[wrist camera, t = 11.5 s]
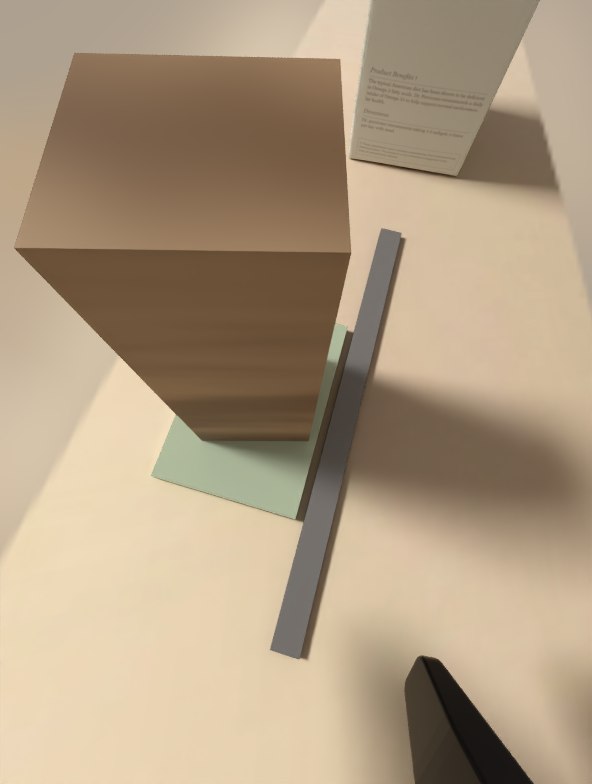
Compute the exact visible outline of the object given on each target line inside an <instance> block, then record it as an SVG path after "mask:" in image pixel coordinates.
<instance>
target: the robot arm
mask: <svg viewBox="0 0 592 784" xmlns="http://www.w3.org/2000/svg"><path fill="white" fill-rule="evenodd" d="M405 700H406V709H407V718H408V727H409V736H410V745H411V754H412V763H413V772H414V779H415V784H533V782H532V781H531V780H530V778H529V777H528V776H527V774H526V773H525V772H524V770H523V769H522V768H521V766H520V765H519V764H518V762H517V761H516V760H515V759H514V757H513V756H512V755H511V753H510V752H509V751H508V749H507V748H506V747H505V745H504V744H503V743H502V741H501V740H500V739H499V737H498V736H497V735H496V734H495V732H494V731H493V730H492V728H491V727H490V726H489V724H488V723H487V722H486V720H485V719H484V718H483V716H482V715H481V714H480V712H479V711H478V710H477V708H476V707H475V706H474V705H473V703H472V702H471V701H470V699H469V698H468V697H467V695H466V694H465V693H464V691H463V690H462V689H461V687H460V686H459V685H458V683H457V682H456V681H455V680H454V678H453V677H452V676H451V674H450V673H449V672H448V670H447V669H446V668H445V666H444V665H443V664H442V663H441V662H440V661H439V660H438V659H436V658H433V657H428V656H419V657H418V658H417V659H416V661H415V663H414V665H413V667H412V669H411V671H410V673H409V675H408V677H407V679H406V682H405Z"/></svg>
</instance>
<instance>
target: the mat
mask: <svg viewBox="0 0 592 784" xmlns="http://www.w3.org/2000/svg"><path fill="white" fill-rule="evenodd" d="M347 327H348V326H344V325H340V324H336V323H335V326H334V331H333V335H332V339H331V344H330V348H329V353H328V357H327V362H326V366H325V370H324V375H323V379H322V384H321V388H320V393H319V397H318V401H317V406H316V410H315V415H314V419H313V424H312V428H311V433H310V437H309V441H202V440H201V439H200V438H199V437H198V436H197V435H196V434H195V433H194V432H193V431H192V430H191V429H190V428H189V427H188V426H187V425H186V424H185V423H184V422H183V421H182V420H181V419H180V418H179V417H178V416H177V415H176V416H175V418H174V421H173V423H172V425H171V428H170V430H169V433H168V435H167V438H166V440H165V443H164V445H163V447H162V450H161V452H160V455H159V457H158V460H157V462H156V464H155V467H154V469H153V472H152V474H151V476H153V477H155V478H159V479H162V480H165V481H169V482H172V483H175V484H179V485H182V486H185V487H189V488H192V489H195V490H199V491H202V492H205V493H208V494H212V495H215V496H218V497H222V498H225V499H228V500H232V501H235V502H238V503H242V504H245V505H248V506H252V507H255V508H258V509H262V510H265V511H268V512H271V513H275V514H278V515H281V516H285V517H288V518H291V519H296V515H297V511H298V508H299V504H300V500H301V497H302V493H303V489H304V486H305V482H306V478H307V475H308V471H309V467H310V464H311V460H312V456H313V453H314V449H315V445H316V441H317V438H318V434H319V430H320V427H321V423H322V419H323V416H324V412H325V408H326V405H327V401H328V397H329V394H330V390H331V386H332V383H333V379H334V375H335V372H336V368H337V364H338V361H339V357H340V353H341V349H342V346H343V342H344V338H345V335H346V331H347Z"/></svg>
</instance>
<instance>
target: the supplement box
mask: <svg viewBox="0 0 592 784" xmlns="http://www.w3.org/2000/svg"><path fill="white" fill-rule="evenodd" d="M539 1H540V0H370V3H369V10H368V17H367V24H366V30H365V37H364V44H363V51H362V58H361V65H360V72H359V79H358V86H357V93H356V99H355V107H354V115H353V123H352V130H351V137H350V145H349V158H353V159H360V160H366V161H372V162H378V163H384V164H390V165H396V166H402V167H408V168H413V169H419V170H425V171H431V172H436V173H442V174H448V175H454V176H457V175H458V173H459V171H460V169H461V167H462V165H463V163H464V161H465V159H466V156H467V154H468V152H469V150H470V148H471V146H472V144H473V141H474V139H475V137H476V135H477V133H478V131H479V129H480V127H481V124H482V122H483V120H484V118H485V116H486V114H487V112H488V109H489V107H490V105H491V103H492V101H493V99H494V97H495V95H496V92H497V90H498V88H499V86H500V84H501V82H502V80H503V78H504V76H505V73H506V71H507V69H508V67H509V65H510V63H511V61H512V59H513V56H514V54H515V52H516V50H517V48H518V46H519V44H520V42H521V39H522V37H523V35H524V33H525V31H526V29H527V27H528V24H529V22H530V20H531V18H532V16H533V13H534V12H535V10H536V7H537V5H538V3H539Z"/></svg>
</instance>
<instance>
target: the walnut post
mask: <svg viewBox="0 0 592 784" xmlns="http://www.w3.org/2000/svg"><path fill="white" fill-rule="evenodd" d="M14 248H15V249H16V250H17V251H18V252H19V253H20V255H21V256H22V257H24V258H25V260H26V261H27V262H28V263H29V264H30V265H31V266H32V267H33V268H34V269H35V270H36V271H37V272H38V273H39V274H40V275H41V276H42V277H43V278H44V279H45V280H46V281H47V282H48V283H49V284H50V285H51V286H52V287H53V288H54V289H55V290H56V291H57V293H59V295H61V297H62V298H64V300H65V301H66V302H67V303H68V304H69V305H70V306H71V307H72V308H73V309H74V310H75V311H76V312H77V313H78V314H79V315H80V316H81V317H82V318H83V319H84V320H85V321H86V322H87V323H88V324H89V325H90V326H91V327H92V328H93V329H94V330H95V331H96V333H98V334H99V336H100V337H101V338H102V339H103V340H104V341H105V342H106V343H107V344H108V345H109V346H110V347H111V348H112V349H113V350H114V351H115V352H116V353H117V354H118V355H119V356H120V357H121V358H122V359H123V360H124V361H125V362H126V363H127V364H128V365H129V366H130V367H131V368H132V370H133V371H134V372H135V373H136V374H137V375H138V376H139V377H140V378H141V379H142V380H143V381H144V382H145V383H146V384H147V385H148V386H149V387H150V388H151V389H152V390H153V391H154V392H155V393H156V394H157V395H158V396H159V397H160V398H161V399H162V400H163V401H164V402H165V403H166V404H167V405H168V406H169V407H170V409H171V410H172V411H173V412H174V413H175V414H176V415H177V416H178V417H179V418H180V419H181V420H182V421H183V422H184V423H185V424H186V425H187V426H188V427H189V428H190V429H191V430H192V431H193V432H194V433H195V434H196V435H197V436H198V437H199V438H200V439H201V440H202V441H309V437H310V433H311V428H312V424H313V419H314V415H315V410H316V406H317V401H318V397H319V393H320V388H321V384H322V379H323V375H324V370H325V366H326V362H327V357H328V353H329V348H330V344H331V339H332V335H333V331H334V326H335V322H336V317H337V313H338V308H339V304H340V300H341V295H342V291H343V286H344V282H345V277H346V273H347V268H348V264H349V260H350V255H351V243H350V225H349V207H348V190H347V172H346V155H345V137H344V119H343V102H342V84H341V66H340V59H315V58H268V57H225V56H224V57H223V56H182V55H139V54H96V53H95V54H93V53H74V56H73V59H72V63H71V66H70V69H69V72H68V75H67V79H66V82H65V85H64V89H63V91H62V95H61V98H60V101H59V104H58V108H57V111H56V114H55V117H54V121H53V124H52V127H51V130H50V133H49V137H48V140H47V143H46V146H45V149H44V153H43V156H42V159H41V162H40V166H39V169H38V172H37V175H36V179H35V182H34V185H33V188H32V191H31V194H30V198H29V201H28V204H27V208H26V211H25V214H24V217H23V220H22V223H21V227H20V230H19V233H18V236H17V239H16V243H15V246H14Z"/></svg>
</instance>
